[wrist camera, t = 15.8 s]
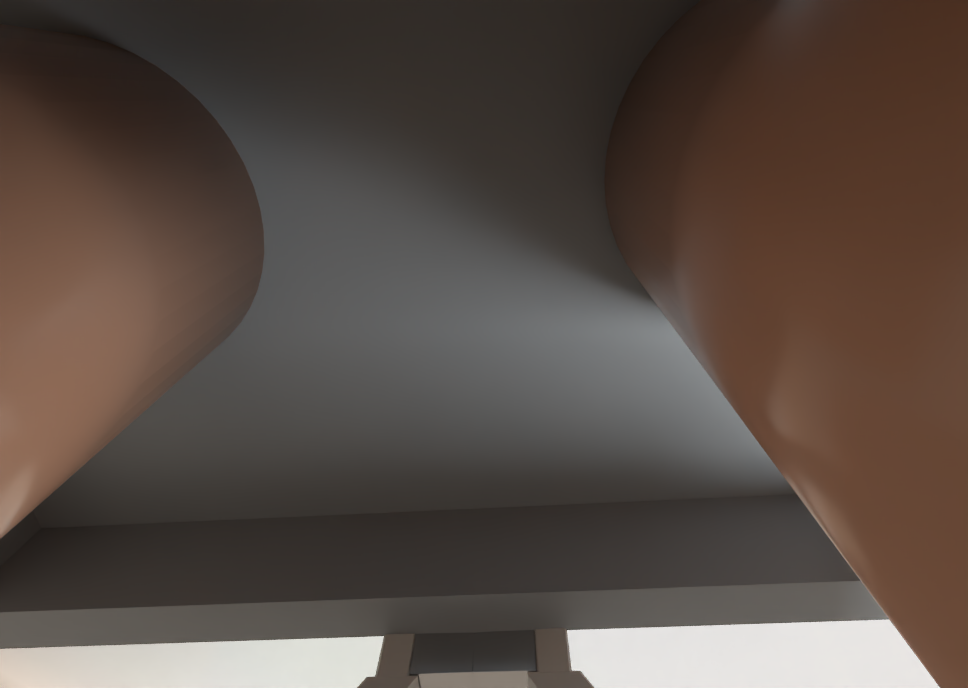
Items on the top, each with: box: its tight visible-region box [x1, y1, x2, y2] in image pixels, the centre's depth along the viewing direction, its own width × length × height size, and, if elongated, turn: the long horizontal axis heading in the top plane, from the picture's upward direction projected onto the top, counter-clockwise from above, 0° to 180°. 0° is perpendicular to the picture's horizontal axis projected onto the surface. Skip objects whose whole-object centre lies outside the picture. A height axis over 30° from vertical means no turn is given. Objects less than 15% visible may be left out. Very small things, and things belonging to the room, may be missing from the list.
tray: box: [0, 0, 889, 649], centre depth 7 cm, size 18×15×3 cm
